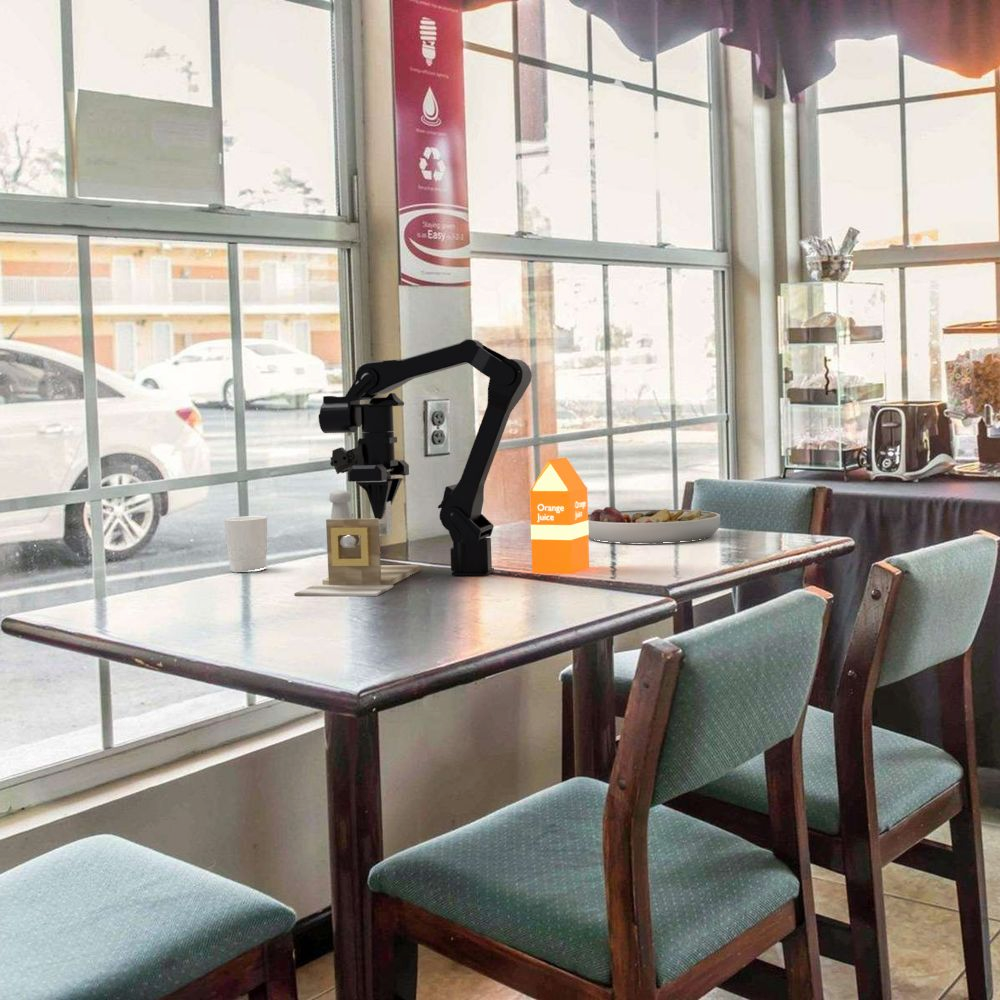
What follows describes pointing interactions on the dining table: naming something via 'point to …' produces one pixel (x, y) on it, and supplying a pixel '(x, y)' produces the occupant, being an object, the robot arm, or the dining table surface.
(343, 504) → the salt shaker
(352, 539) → the shaft
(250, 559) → the white cup
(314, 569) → the dining table surface
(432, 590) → the dining table surface
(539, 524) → the orange juice
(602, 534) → the bowl
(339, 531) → the frame
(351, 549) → the wooden latch stand
